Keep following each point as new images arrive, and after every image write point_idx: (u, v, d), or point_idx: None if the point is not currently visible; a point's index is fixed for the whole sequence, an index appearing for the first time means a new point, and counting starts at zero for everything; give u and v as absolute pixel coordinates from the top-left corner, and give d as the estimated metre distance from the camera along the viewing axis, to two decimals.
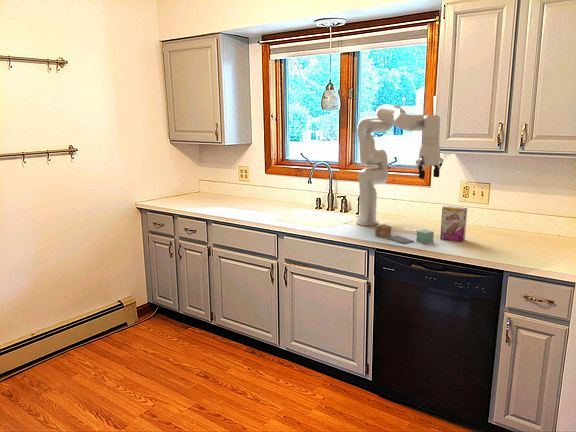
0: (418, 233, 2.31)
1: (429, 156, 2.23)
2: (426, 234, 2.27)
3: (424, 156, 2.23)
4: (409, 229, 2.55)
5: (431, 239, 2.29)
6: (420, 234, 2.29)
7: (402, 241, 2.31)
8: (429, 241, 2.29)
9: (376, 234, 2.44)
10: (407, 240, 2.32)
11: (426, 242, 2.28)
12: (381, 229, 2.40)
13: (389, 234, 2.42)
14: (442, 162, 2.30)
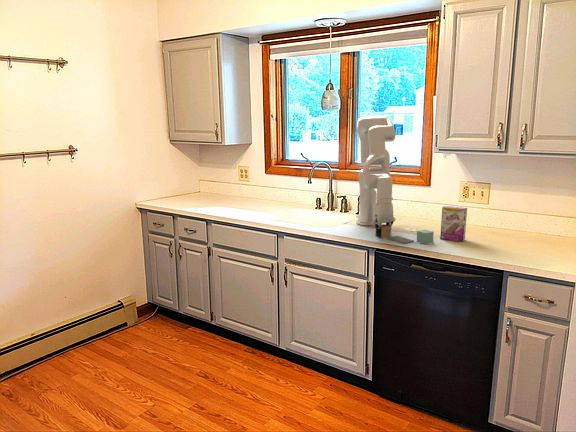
0: (418, 233, 2.31)
1: (382, 214, 2.38)
2: (426, 234, 2.27)
3: (377, 214, 2.38)
4: (409, 229, 2.55)
5: (431, 239, 2.29)
6: (420, 234, 2.29)
7: (402, 241, 2.31)
8: (429, 241, 2.29)
9: None
10: (407, 240, 2.32)
11: (426, 242, 2.28)
12: (381, 229, 2.40)
13: (389, 234, 2.42)
14: (393, 221, 2.45)
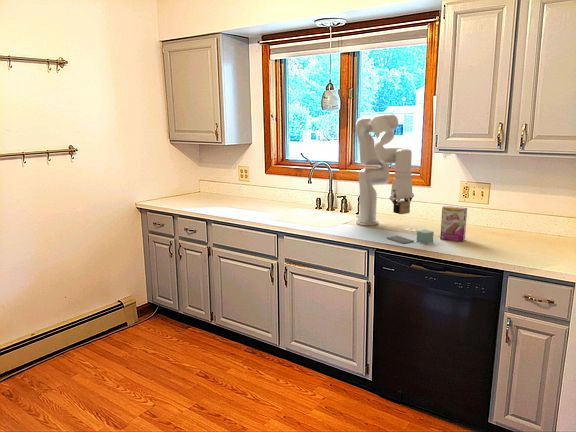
0: (418, 233, 2.31)
1: (401, 189, 2.27)
2: (426, 234, 2.27)
3: (396, 189, 2.27)
4: (409, 229, 2.55)
5: (431, 239, 2.29)
6: (420, 234, 2.29)
7: (402, 241, 2.31)
8: (429, 241, 2.29)
9: None
10: (407, 240, 2.32)
11: (426, 242, 2.28)
12: (400, 205, 2.28)
13: (408, 210, 2.31)
14: (412, 197, 2.34)
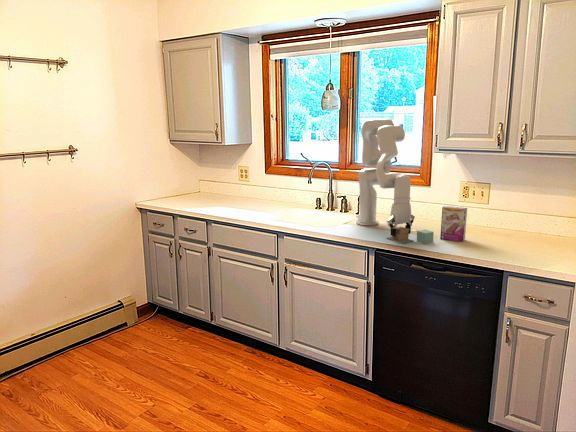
0: (418, 233, 2.31)
1: (400, 215, 2.29)
2: (426, 234, 2.27)
3: (395, 215, 2.29)
4: None
5: (431, 239, 2.29)
6: (420, 234, 2.29)
7: (402, 241, 2.31)
8: (429, 241, 2.29)
9: (393, 237, 2.35)
10: (407, 240, 2.32)
11: (426, 242, 2.28)
12: (399, 232, 2.31)
13: (407, 237, 2.34)
14: (413, 219, 2.37)
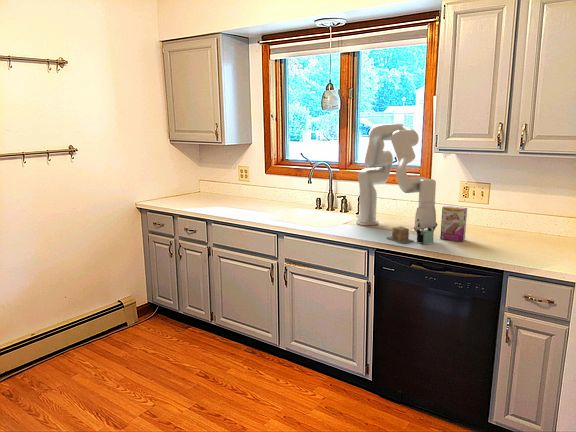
0: None
1: (425, 219, 2.26)
2: (426, 234, 2.27)
3: (420, 219, 2.25)
4: (409, 229, 2.55)
5: (431, 239, 2.29)
6: None
7: (402, 241, 2.31)
8: (429, 241, 2.29)
9: (393, 237, 2.35)
10: (407, 240, 2.32)
11: (426, 242, 2.28)
12: (399, 232, 2.31)
13: (407, 237, 2.34)
14: (435, 226, 2.33)
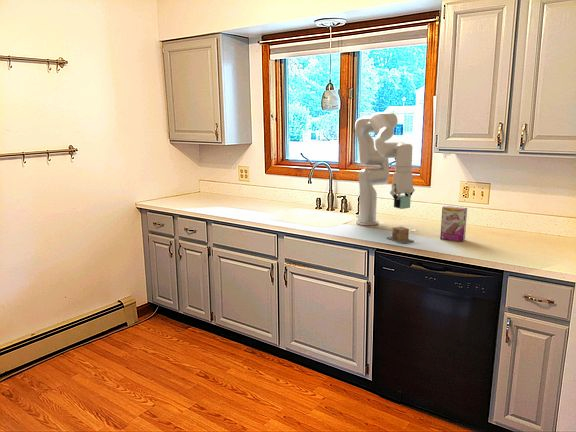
0: None
1: (401, 184, 2.26)
2: (403, 199, 2.28)
3: (396, 184, 2.26)
4: (409, 229, 2.55)
5: (408, 204, 2.30)
6: None
7: (402, 241, 2.31)
8: (406, 206, 2.30)
9: (393, 237, 2.35)
10: (407, 240, 2.32)
11: (403, 207, 2.29)
12: (399, 232, 2.31)
13: (407, 237, 2.34)
14: None
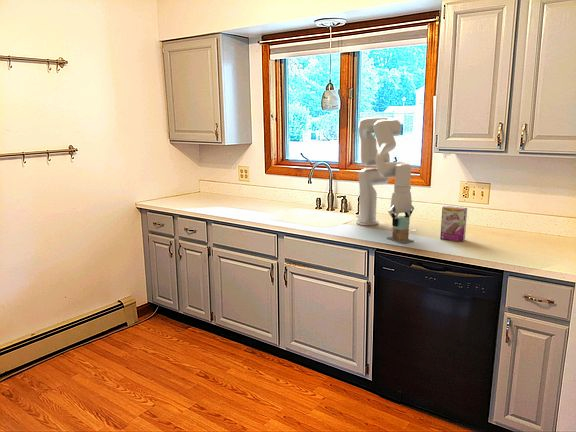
0: None
1: (400, 204, 2.28)
2: (402, 220, 2.30)
3: (395, 204, 2.28)
4: (409, 229, 2.55)
5: (407, 225, 2.32)
6: None
7: (402, 241, 2.31)
8: (405, 227, 2.32)
9: (393, 237, 2.35)
10: (407, 240, 2.32)
11: (402, 228, 2.31)
12: (399, 232, 2.31)
13: (407, 237, 2.34)
14: (412, 210, 2.35)
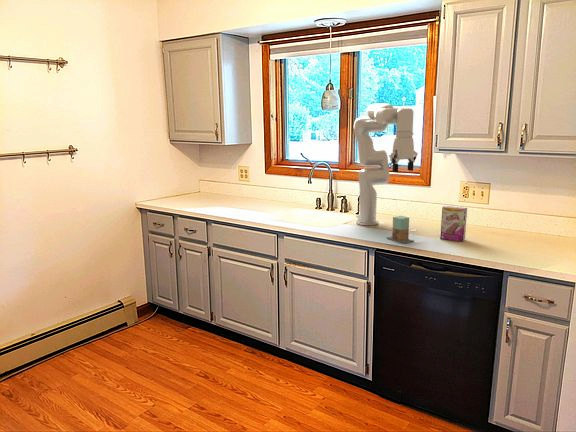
0: (394, 219, 2.33)
1: (402, 149, 2.23)
2: (402, 220, 2.30)
3: (397, 149, 2.23)
4: (409, 229, 2.55)
5: (407, 225, 2.32)
6: (396, 220, 2.32)
7: (402, 241, 2.31)
8: (405, 227, 2.32)
9: (393, 237, 2.35)
10: (407, 240, 2.32)
11: (402, 228, 2.31)
12: (399, 232, 2.31)
13: (407, 237, 2.34)
14: (416, 156, 2.30)
